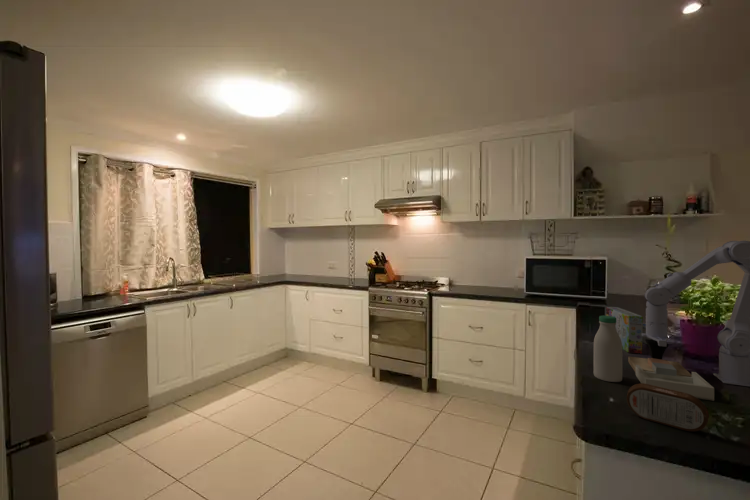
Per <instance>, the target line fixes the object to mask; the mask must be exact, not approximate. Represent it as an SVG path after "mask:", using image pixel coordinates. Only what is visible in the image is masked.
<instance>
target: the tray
mask: <svg viewBox="0 0 750 500" xmlns="http://www.w3.org/2000/svg"><path fill="white" fill-rule="evenodd" d="M691 375H692V377H687V376H679V375H677V376H671V375H664V374H656V373H655V372H649V371H643V369H642V368H641V367H640V365H636V373H635V377H636V378H637V380H638V381H639V382H640V383H639V384H649V385H653V386H658V387H662V388H666V389H671V390H675V391H679V392H684V393H687V394H690V395H693V396H695V397H696V398H698V399H699V400H704V401H705V400H707V401H713V402H714V401H715V387H714V386H713V385H711V384H710V383H709V382H708V381H706V380H705V379H704V378H703V377H702V376H701V375H700V374H699V373H697V372H696V371H691Z"/></svg>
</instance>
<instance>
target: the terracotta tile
mask: <svg viewBox="0 0 750 500" xmlns="http://www.w3.org/2000/svg"><path fill="white" fill-rule="evenodd" d="M647 359H648V364H649V365H650V367H651V368H652V362H654V363H662V364H670V363H669V362H668V361H669V360H667V359H663V358H662V359H654V358H651V357H647ZM670 365H671V364H670Z"/></svg>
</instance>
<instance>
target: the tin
mask: <svg viewBox="0 0 750 500" xmlns="http://www.w3.org/2000/svg"><path fill="white" fill-rule="evenodd" d="M626 394H627V395H626V403H627V405H628V407H629V409H630V410H631V411H632V412H633V413H634V414H635V415H637V416H638V417H640V418H642V419H644V420H646V421H649V422H650V421H651V422H653V423H657V424H661V425H664V426H668V427H672V428H675V429H678V430H682V431H686V432H699V431H701V430H703V429H705V428H706V427H707V425H708V423H709V419H710V414H709V410H708V408H707V406H706V405H705V403H704V402H702V401H701V399H699V398H696V397H695V396H693V395H690V394H687V393H684V392H679V391H675V390H671V389H666V388H662V387H658V386H653V385H649V384H641V383H636V384H634V385H633V384H632V385H631V386H630V387H629V389H627V393H626Z"/></svg>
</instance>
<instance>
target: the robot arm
mask: <svg viewBox="0 0 750 500" xmlns="http://www.w3.org/2000/svg"><path fill="white" fill-rule="evenodd" d="M727 263H728V264H729V263H734V264H735V265H737V266H738V267H739V268H740V269H741V270H742V272H744V275H743V278H742V280H741V283H740V287H739V290H738V293H737V296H736V299H735V302H734V306H733V309H732V311H731V315H730V319H729V320H728V321H727V322H726V323H725V325H724V328H723V329H722V330H720V331H719V332H718V333H717V341H718V342H719V344H721V346H720V347H719V349H718V352H719V353H718V373H714V372H713V373H712V374H713V376H714V377H715V378H717V379H719V381H721V383H723V384H726V385H727V384H728V385H736V386H742V387H750V241H749V240H739V241H738V240H729V241H727V242H725V243H723V245H721V246H717V247H716V248H715V249H713V250H711V251H710V252H708V253H707V254H705V255H704V256H702V257H701V258H700V259H699V260H697V261H696V262H695V263H693V264H692V265H690V266H689V267H688V268H686V269H685V270H684V271H682V272H681V271H675V272H673V273H671V272H669V273H668V274H666V276H667V277H666V278H664V279H663V280H661V281H660V282H659V283H657V282H656V283H654V284H653V287H650V288H648V289H647V290H646V291H645V293H644V298H645V299H646V303H645V306H646V307H645V323H646V333H642V336H644V337H648V338H650V339H651V340H649V339H645V341H646V343H647V344H646V345H647V347H648V349H649V353H650V358H654V359H663V357H664V354H665V352H666V350H667V349H668V347H669V344H668V342H667V341H668V340H669V336H668V315H669V314H668V303H669V302H670V299H671V298H674V297H675V296H677V295H678V294H680V293H682V292H683V291H684V290H685V289H688V288H689V287H690V286H692V280H694V279H695V278H696V277H698V276H699V275H702V274H703V273H705V272H706V271H708V270H710V269H712V268H714V266H716V265H720V264H727Z"/></svg>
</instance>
